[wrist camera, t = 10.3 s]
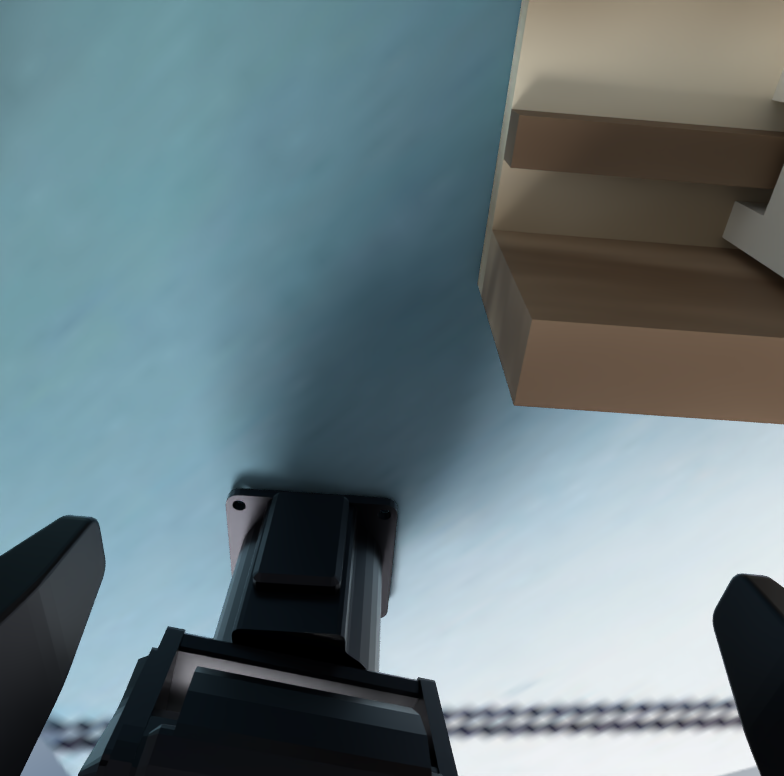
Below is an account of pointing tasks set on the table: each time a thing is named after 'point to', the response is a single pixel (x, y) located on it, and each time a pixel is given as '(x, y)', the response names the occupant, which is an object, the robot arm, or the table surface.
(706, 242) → the cleat board
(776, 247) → the white knobbed block
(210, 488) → the table surface
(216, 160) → the table surface
